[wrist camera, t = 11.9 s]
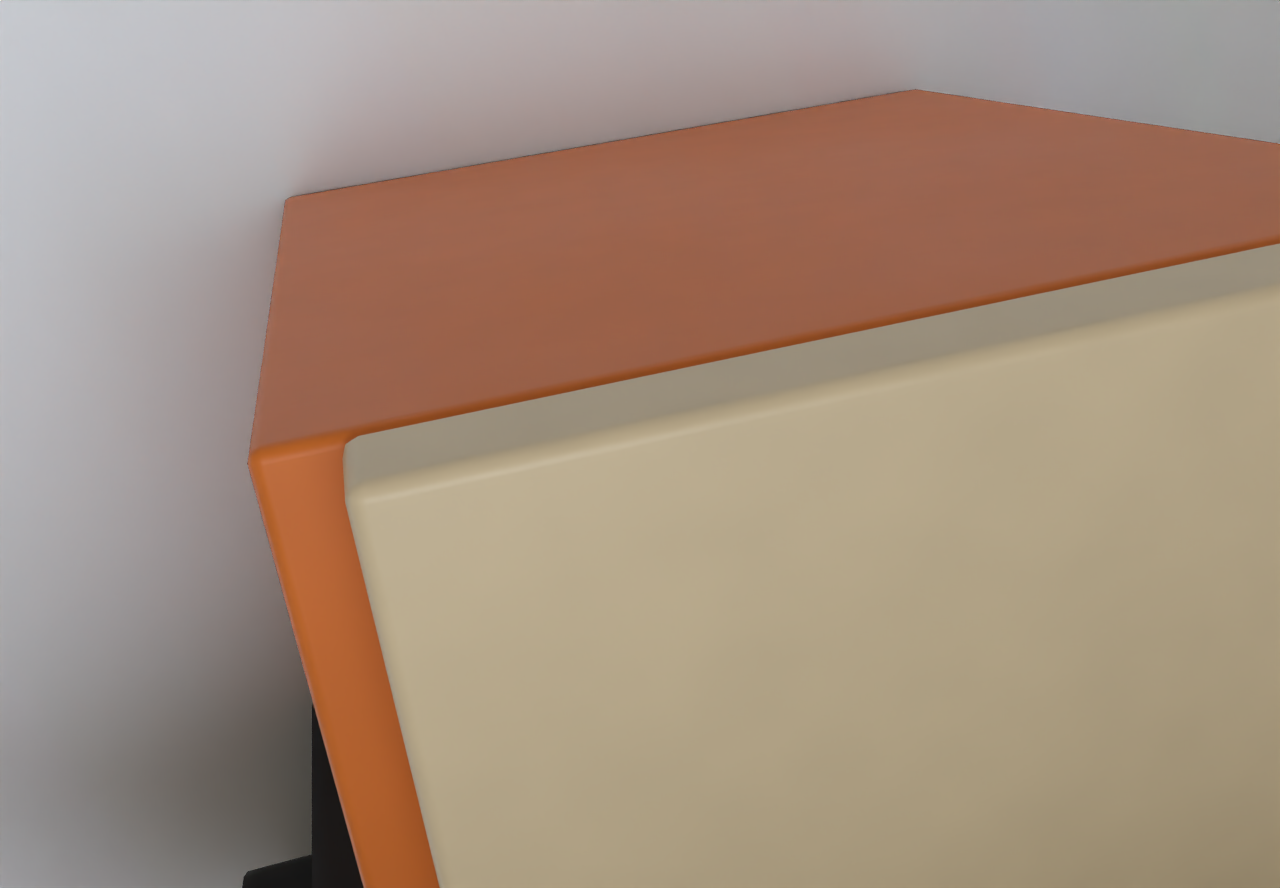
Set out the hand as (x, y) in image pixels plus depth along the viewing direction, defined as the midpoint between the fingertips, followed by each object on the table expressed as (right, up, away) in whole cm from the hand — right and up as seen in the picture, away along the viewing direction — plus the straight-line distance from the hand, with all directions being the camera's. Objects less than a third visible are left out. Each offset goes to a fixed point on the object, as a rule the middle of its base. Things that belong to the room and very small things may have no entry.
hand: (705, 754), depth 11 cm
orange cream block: (0, 0, 0) cm, 0 cm away
